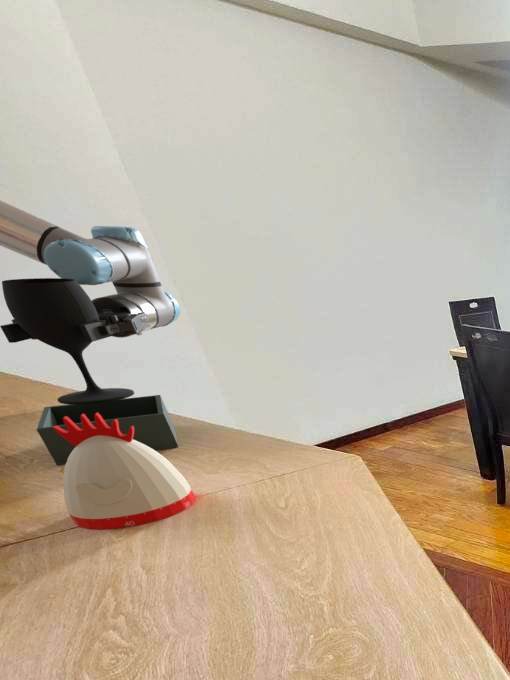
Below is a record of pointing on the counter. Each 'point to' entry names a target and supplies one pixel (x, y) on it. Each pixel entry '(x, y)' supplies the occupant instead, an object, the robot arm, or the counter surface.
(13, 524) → the counter surface
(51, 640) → the counter surface
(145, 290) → the robot arm
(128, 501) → the kitchen timer
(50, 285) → the wine glass
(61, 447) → the bin
